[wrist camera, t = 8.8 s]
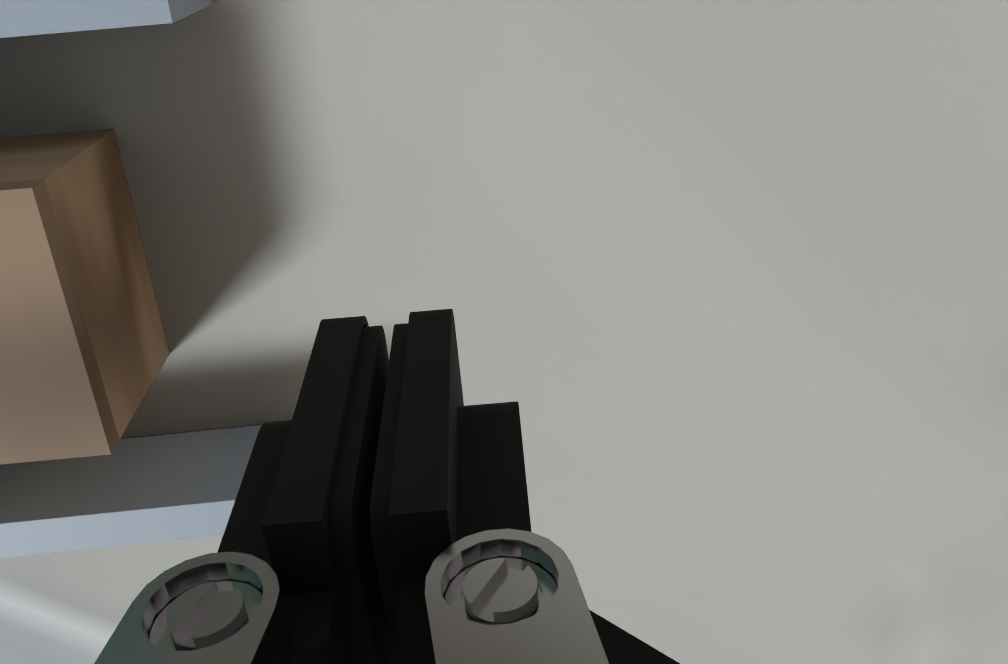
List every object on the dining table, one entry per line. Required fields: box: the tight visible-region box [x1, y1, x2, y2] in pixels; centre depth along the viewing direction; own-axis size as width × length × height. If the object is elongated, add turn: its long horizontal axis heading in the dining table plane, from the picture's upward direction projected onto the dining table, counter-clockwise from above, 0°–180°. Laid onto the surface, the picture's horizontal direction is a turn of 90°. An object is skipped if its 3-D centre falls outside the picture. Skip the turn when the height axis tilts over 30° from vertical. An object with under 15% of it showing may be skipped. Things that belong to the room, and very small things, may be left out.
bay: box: [0, 0, 262, 558], centre depth 21 cm, size 13×10×4 cm
